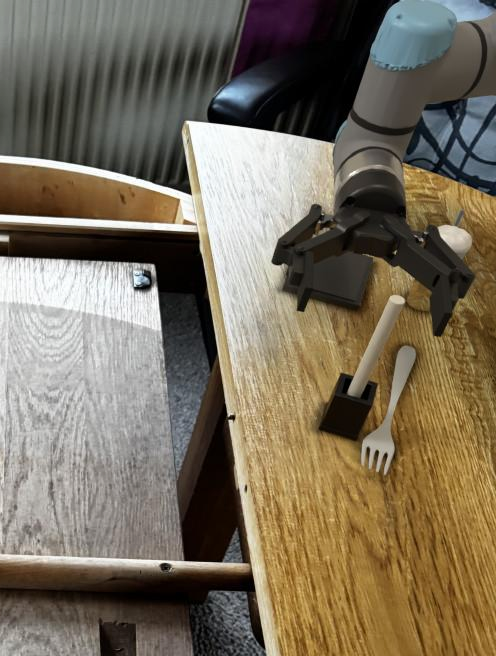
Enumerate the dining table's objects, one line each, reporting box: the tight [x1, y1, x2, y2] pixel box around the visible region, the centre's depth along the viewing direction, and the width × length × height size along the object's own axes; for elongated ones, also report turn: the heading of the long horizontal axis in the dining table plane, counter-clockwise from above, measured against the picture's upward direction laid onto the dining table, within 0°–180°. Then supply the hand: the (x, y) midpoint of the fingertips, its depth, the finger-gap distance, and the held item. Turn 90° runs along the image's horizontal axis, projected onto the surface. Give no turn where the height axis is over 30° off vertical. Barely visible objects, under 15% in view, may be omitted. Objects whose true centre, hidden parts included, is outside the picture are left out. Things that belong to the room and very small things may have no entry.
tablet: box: [281, 251, 375, 312], centre depth 111 cm, size 9×11×1 cm
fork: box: [360, 345, 417, 476], centre depth 97 cm, size 3×24×2 cm, turn 156°
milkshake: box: [405, 208, 473, 312], centre depth 106 cm, size 5×5×10 cm
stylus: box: [347, 294, 406, 398], centre depth 90 cm, size 1×1×14 cm
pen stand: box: [318, 372, 379, 442], centre depth 94 cm, size 4×4×4 cm
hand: (373, 312), depth 91 cm, fingers open, 13 cm apart
